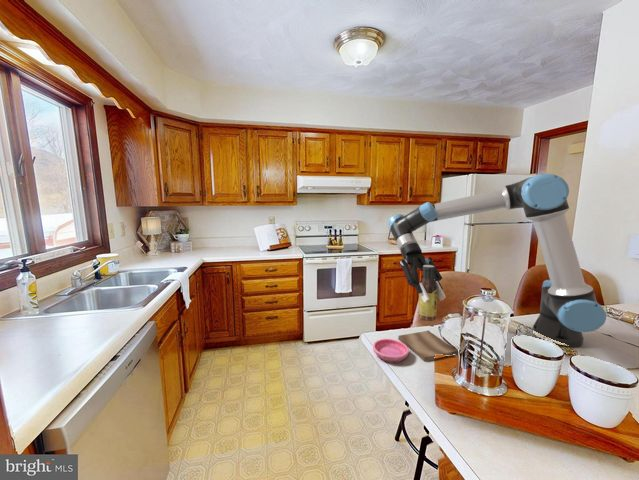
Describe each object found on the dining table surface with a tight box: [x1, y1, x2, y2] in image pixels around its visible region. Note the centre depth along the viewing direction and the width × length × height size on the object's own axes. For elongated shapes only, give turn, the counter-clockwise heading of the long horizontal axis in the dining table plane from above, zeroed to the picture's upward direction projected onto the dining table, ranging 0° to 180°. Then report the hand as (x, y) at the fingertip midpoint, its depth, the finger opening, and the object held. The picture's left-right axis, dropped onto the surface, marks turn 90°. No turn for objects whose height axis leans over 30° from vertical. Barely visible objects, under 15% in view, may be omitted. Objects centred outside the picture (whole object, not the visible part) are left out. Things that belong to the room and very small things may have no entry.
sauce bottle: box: [418, 265, 438, 322], centre depth 99 cm, size 7×6×20 cm
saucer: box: [372, 338, 410, 363], centre depth 97 cm, size 12×12×3 cm
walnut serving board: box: [397, 330, 459, 362], centre depth 102 cm, size 14×16×2 cm
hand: (434, 299), depth 96 cm, fingers closed on sauce bottle, 6 cm apart
